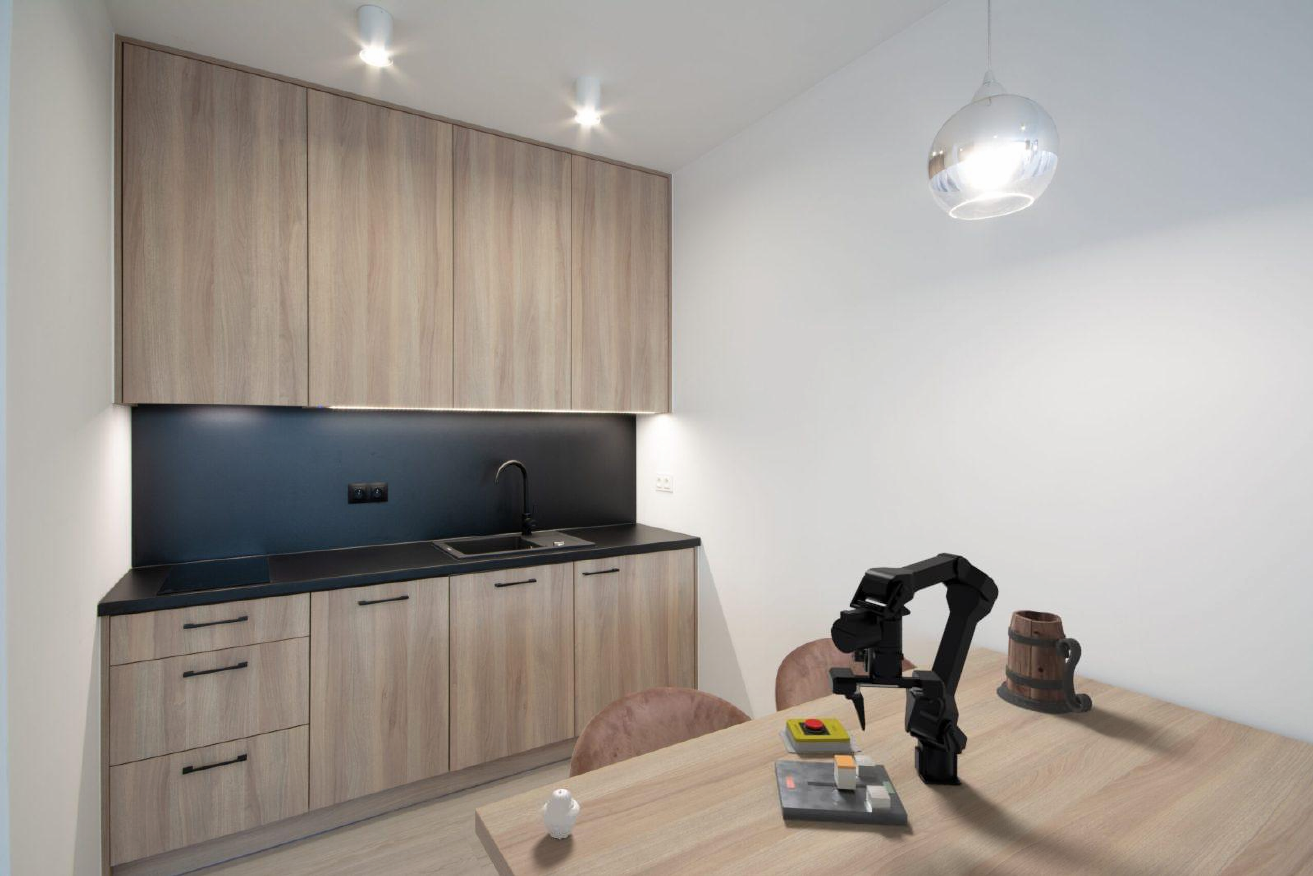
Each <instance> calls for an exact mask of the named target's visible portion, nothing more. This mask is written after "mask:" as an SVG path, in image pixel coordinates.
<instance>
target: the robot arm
mask: <svg viewBox="0 0 1313 876" xmlns="http://www.w3.org/2000/svg"><path fill="white" fill-rule="evenodd" d="M938 584H943V586H944V587H945V588H946V593H945V599H946V604H947V606H948V611H949V613H948V616H947V620H946V623H945V626H944V629H943V633H942V635H941V639H940V642H939V646H938V648H937V652H936V655H935V657H934V661H933V664H932V666H931V670H923V669H922V670H921V669H913V670H912V673H911V676H903V661H904V658H905V656H904V653H903V617H905V616H910V615H911V610H910V609H909V608H908V607H906V606H905V605H906V604H907V603H909V602H911V601H912V600H913V599H914V597H915V594H916V593H917V592H919V591H922V590H925V589H927V588H930V587H933V586H935V585H938ZM999 592H1000V590H999V587H998V585H997V583H996V582H995V581H994V579H993V578H992V577H990V576H989V575H988V574H987V573H986V572H984V571H982V570H981V569H980V568H978V567H977V566H975V565H973V564H972V563H971V562H970V561H969V560H968V559H967V558H966V557H965V556H963V555H959V554H954V553H947V552H941V553H938V554H937V555H936V556H932V557H929V558H926V559H923V560H920V561H918V562H914V563H911V564H907V565H904V566H902V567H887V566H886V567H885V566H883V567H881V566H880V567H870V568H869V569H867V570H866V571H864V575H863V577H862V578H861V580H860V583H859V584H858V586H857V588H856V590H855V592H854V594H853V596H852V599H851V601H850V602H849V608H851V610H846V609H845V610H841V611H840V612H839V618H837V619H835V620H834V621H833V624H832V626H831V628H830V636H831V640H832V642H833V644H834V646H835V647H836V649H837V650H838V651H839V652H840V653H843V654H846V655H848V654H851V660H852V662H853V663H861V665H862V668H863V670H864V671H865V673H867V675H865V674H854V672H853V670H852V668H851V667H834V666H832V667H830V668H829V670H828V672H827V682H828V686H830V690H831V692H832V694H834V695H836V696H837V695H838V696H844V698H845V699H846V700H849V701H852V703H853V706H854V709H855V713H856V715H857V718H858V722H859V725H860V728H861V731H862V732H865V731H866V716H865V715H866V712H865V701H864V700H865V699H864V696H863V694H862V692H861V687H862V688H881V689H882V688H884V689H887V688H888V689H905V697H906V700H905V712H904V713H905V714H904V731H905V733H907V734H909V736H910V737H912V738H915V739H917V745H915V746H914V768H915V770H916V772H917V773H918V775H919V776H920V778H921V779H922V781H923V782H924V783H925V784H931V785H932V784H936V785H949V786H950V785H951V786H953V785H954V786H961V785H962V781H961V780H960V778H959V776H958V761H959V760H958V755H962V754H963V751H964V750H966V749H967V744H968V736H967V735H966V734H965V733H964V732H963V730H962V729H961V728H960V727H959V726H958V721H959V716H960V713H959V709H958V705H957V701H956V697H955V696H956V693H957V689H958V687H959V683H960V680H961V676H962V674H963V670H964V667H965V664H966V661H967V657H968V654H969V650H970V648H971V644H972V642H973V638H974V634H975V631H976V628H977V625H978V623H979V622H980V621H982V620H983V619H984V618H986V617H987V616H988V615H990V614H991V612H992V610H993V607H994V605H995V603H996V601H997V600H998V596H999ZM868 600H869V601H868ZM870 601H872V602H870ZM874 602H875V603H874ZM877 603H878V604H877ZM881 604H882V605H881Z"/></svg>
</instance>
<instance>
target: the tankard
mask: <svg viewBox="0 0 1313 876" xmlns="http://www.w3.org/2000/svg"><path fill="white" fill-rule="evenodd" d="M1062 621H1063V620H1062V618H1061V616H1059V615H1058V614H1055V613H1052V612H1048V611H1047V612H1046V611H1037V610H1036V611H1035V610H1032V609H1031V610H1030V609H1029V610H1028V609H1024V610H1015V611H1013V612H1012V615H1011V619H1010V624H1009V626H1008V627H1007V635H1008V647H1007V648H1008V649H1007V664H1006V665H1005V675H1006V680H1005V681H1003V682H1002V683H1001V685H1000V686H998V687H997V688H996V691H997V692H996V691H995V693H996V695H997V696H998V697H999V698H1001V700H1003V701H1004V702H1006V703H1008V704H1010V705H1012V706H1015V707H1017V708H1020V709H1023V710H1029V711H1032V712H1036V713H1041V714H1050V715H1051V714H1053V715H1065V714H1066V715H1067V714H1071V713H1074V712H1075V713H1078V714H1081V713H1088V712H1090V711H1091V710H1092V708H1093V700H1092V698H1091V697H1090V695H1088V694H1087V693H1076V691H1075V690H1076V689H1075V684H1074V678H1075V677H1074V674H1075V670H1076V667H1077V665H1078V664H1079V662H1080V660H1081V657H1082V647H1081V643H1079V641H1078V640H1077V639H1076V638H1073V637H1067V635H1066V633H1065V630H1064V627H1063V626H1064V625H1063V622H1062Z"/></svg>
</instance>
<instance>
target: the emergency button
mask: <svg viewBox="0 0 1313 876" xmlns="http://www.w3.org/2000/svg"><path fill="white" fill-rule="evenodd" d="M785 724H786V725H785V729H781V730H779V731H778V733H779V736H780V739H782V742H783V744H784V746H785V749H786V751H787V752H788V753H789V754H815V753H816V752H819V753H820V752H832V753H853V752H852V751H860V752H861V751H862V749H861V747H860V748H856V747H853V746H859V744H858V743H857V742H856V740H855V739H854V737H853V736H852V734H851V733H850V731H849V730H847V729H846V728H844V726H843V725H842V723H841V722H840V719H837V718H833V717H832V718H831V717H829V718H787V719H786V723H785ZM852 742H856V744H855V743H852ZM851 746H852V747H851ZM819 753H818V754H819ZM816 754H817V753H816ZM820 754H821V753H820Z"/></svg>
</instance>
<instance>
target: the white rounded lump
mask: <svg viewBox="0 0 1313 876" xmlns="http://www.w3.org/2000/svg"><path fill="white" fill-rule="evenodd" d="M548 798H549V799H548V801H547V802H546V803H545V804H544V805H543V806H542V809H541V813H540V815H541V819H542V823H543V825H544V827H545V829H546V830H547V832H548V833H549V835H550V836H551V838H553V837H554V838H553V839H555V838H558V839H559V838H564V839H566V838H568V837H569V836H570V835H571V834H572V832H573V829H574V828H575V826H576V824H577V821H578V820H579V819H578V818H579V816H580V813H581V807H580V804H579V803H578V802H577V800H575V799H574V798H573V797H572V794H571V792H570V790H567V789H564V788H561V789H560V788H558V789H556V790H553V791H552V793H551V794H550V795H549V797H548ZM568 835H569V836H568ZM558 839H557V840H558ZM559 840H560V839H559Z"/></svg>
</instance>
